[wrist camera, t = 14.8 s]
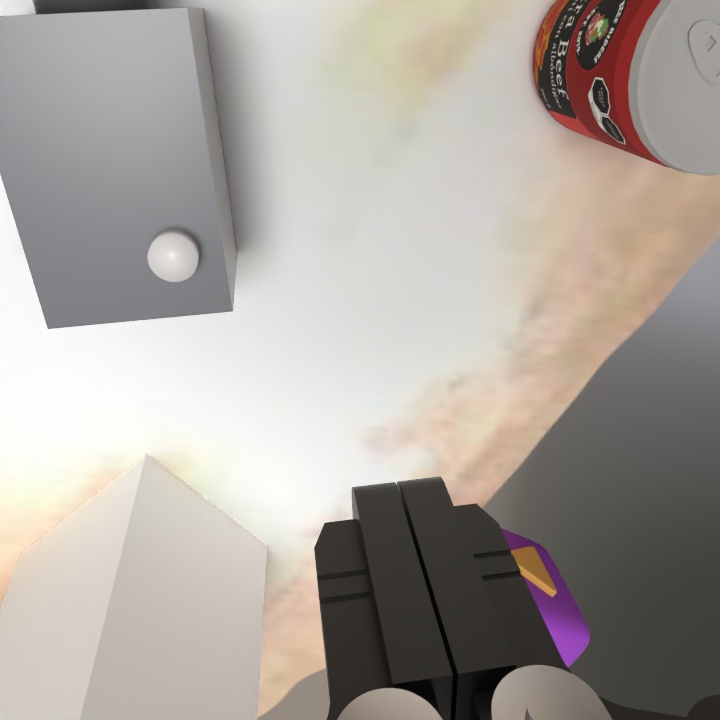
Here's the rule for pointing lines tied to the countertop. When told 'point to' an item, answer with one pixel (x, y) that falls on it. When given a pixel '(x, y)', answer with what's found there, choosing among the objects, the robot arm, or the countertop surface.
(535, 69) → the canned food
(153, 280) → the camera body
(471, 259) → the countertop surface
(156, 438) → the countertop surface
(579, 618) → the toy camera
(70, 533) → the milk
